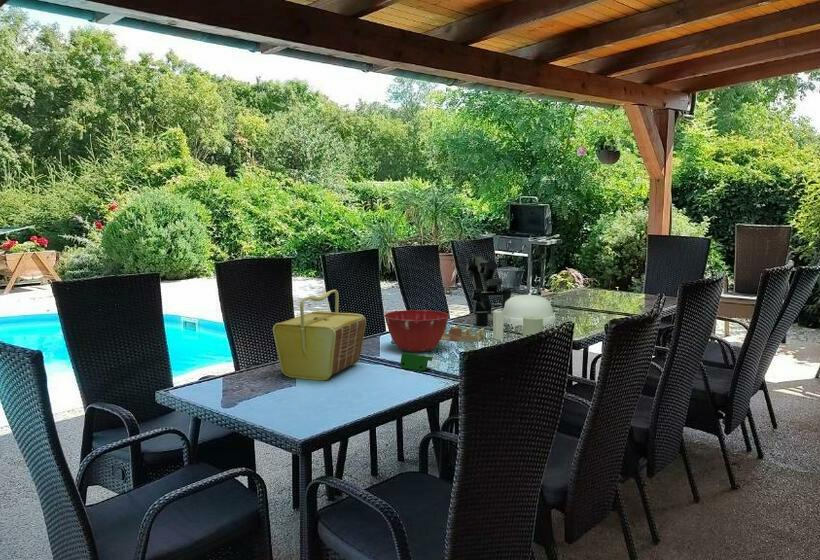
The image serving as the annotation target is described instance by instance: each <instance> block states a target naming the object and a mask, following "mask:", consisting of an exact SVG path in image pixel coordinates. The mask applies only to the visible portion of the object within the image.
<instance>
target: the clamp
mask: <svg viewBox="0 0 820 560" xmlns="http://www.w3.org/2000/svg"><path fill="white" fill-rule="evenodd" d="M400 357H401V358H400V362H399V363H400V367H401V368H403V369H408V370H409V369H410V370H415V371H420V372H421V371H422V372H425V371H426V370H427V369H428V364H429V363H428V362H432V361H433V356H430V355H429V356H427V355H419V354H415V353H411V352H410V353H408V352H401V355H400Z"/></svg>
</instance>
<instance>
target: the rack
mask: <svg viewBox="0 0 820 560" xmlns="http://www.w3.org/2000/svg"><path fill="white" fill-rule="evenodd" d="M472 330H473V329H472V327H471V326H470V327H469V326H468V327H467V328H465V330H462V328H460V326H459V325H457V326H455V327H450V328H449V330H448V333H447V327H446V328H445V331H444V333H443V335H442V338H441V340H440V341H447V342H449V341H450V342H458V341H466V342H465V343H469V342H477V341H479V340H480V341H482V340H483V339H485V328H484V327H481V329H479V330H477V331H476V332H474V335H472V334H473V333H472ZM482 338H483V339H482ZM481 339H482V340H481ZM480 341H479V342H480ZM477 343H478V342H477Z"/></svg>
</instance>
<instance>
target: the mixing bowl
mask: <svg viewBox="0 0 820 560" xmlns="http://www.w3.org/2000/svg"><path fill="white" fill-rule="evenodd" d="M383 316H384V320H385V323H386V326H387V329H388V332H389V335H390V336H391V339H392V341H393V343H394V344H395V346H396V347H398V348H400V349H401V351H405V352H407V353H408V352H410V353H425V352H429V351H431V350H433V349H434V348H435V347H437V346H438V345H439V343H440V342H441V341H442V340H441V338H442V335H443V333H444V331H445V328H446V329H447V324H448V320H449V317H450V314H448V313H447V312H444V311H438V310H431V309H429V310H427V309H426V310H425V309H409V310H408V309H406V310H405V309H404V310H397V311H396V310H395V311H391V312H386V313H384V315H383Z"/></svg>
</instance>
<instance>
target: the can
mask: <svg viewBox="0 0 820 560" xmlns="http://www.w3.org/2000/svg"><path fill="white" fill-rule="evenodd" d="M541 330H543V331H544V326H543V317H540V316H524V317H523V326H522V337H523V336H526V335H530V334H533V333H536V332H539V331H541Z"/></svg>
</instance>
